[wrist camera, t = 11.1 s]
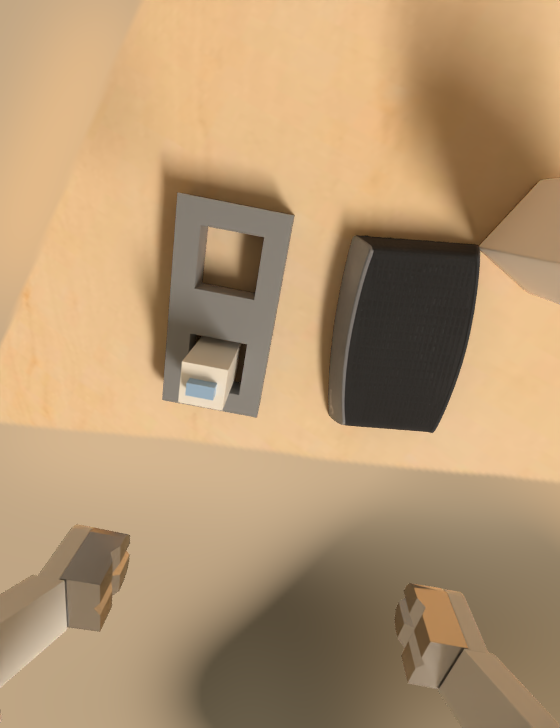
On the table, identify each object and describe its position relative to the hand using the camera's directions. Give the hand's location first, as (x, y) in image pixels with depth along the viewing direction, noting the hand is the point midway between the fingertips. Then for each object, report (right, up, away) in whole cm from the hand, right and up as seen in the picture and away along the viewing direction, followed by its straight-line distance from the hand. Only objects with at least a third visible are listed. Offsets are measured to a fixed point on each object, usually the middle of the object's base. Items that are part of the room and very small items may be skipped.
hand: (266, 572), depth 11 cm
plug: (-6, +7, +29) cm, 31 cm away
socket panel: (-5, +12, +28) cm, 30 cm away
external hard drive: (+12, +9, +29) cm, 32 cm away
